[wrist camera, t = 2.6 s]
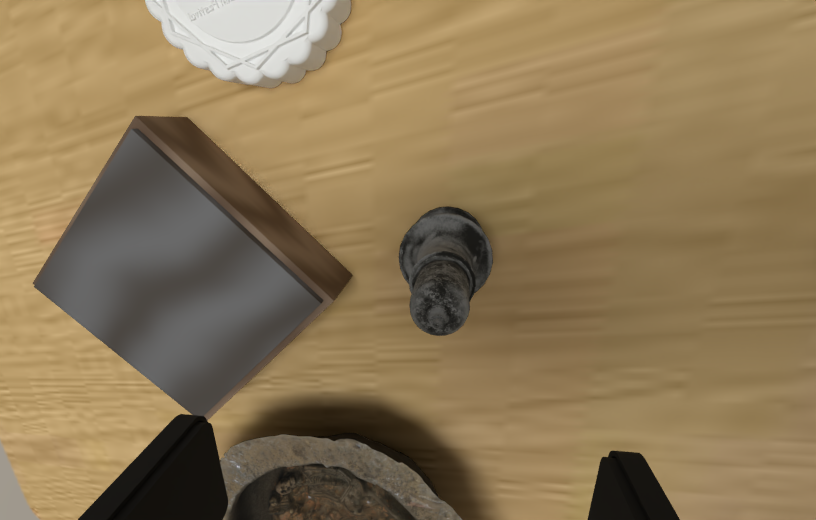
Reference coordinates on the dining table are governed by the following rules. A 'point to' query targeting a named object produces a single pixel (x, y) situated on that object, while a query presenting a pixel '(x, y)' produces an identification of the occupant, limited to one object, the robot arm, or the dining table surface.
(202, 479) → the robot arm
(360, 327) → the dining table surface
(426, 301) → the black chess piece
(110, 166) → the walnut base
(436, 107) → the dining table surface
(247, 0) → the mooncake
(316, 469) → the stone bowl
